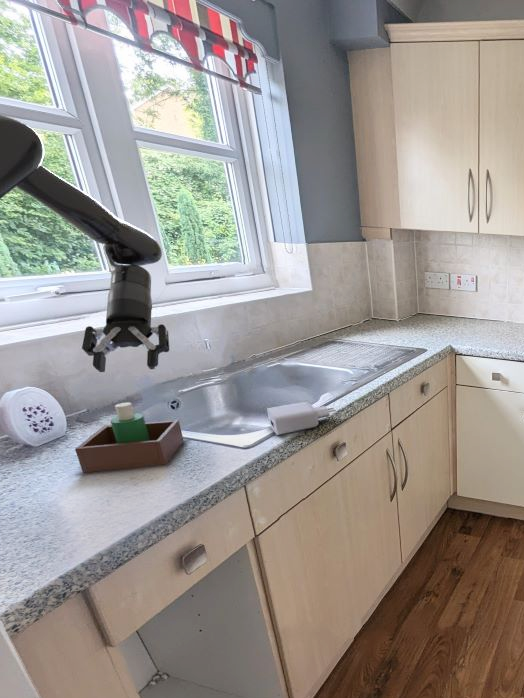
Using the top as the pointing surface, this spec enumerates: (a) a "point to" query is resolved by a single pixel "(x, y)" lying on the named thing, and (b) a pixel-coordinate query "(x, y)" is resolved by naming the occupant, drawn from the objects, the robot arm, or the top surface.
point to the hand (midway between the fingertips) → (126, 368)
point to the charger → (295, 417)
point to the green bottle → (128, 425)
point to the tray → (130, 448)
